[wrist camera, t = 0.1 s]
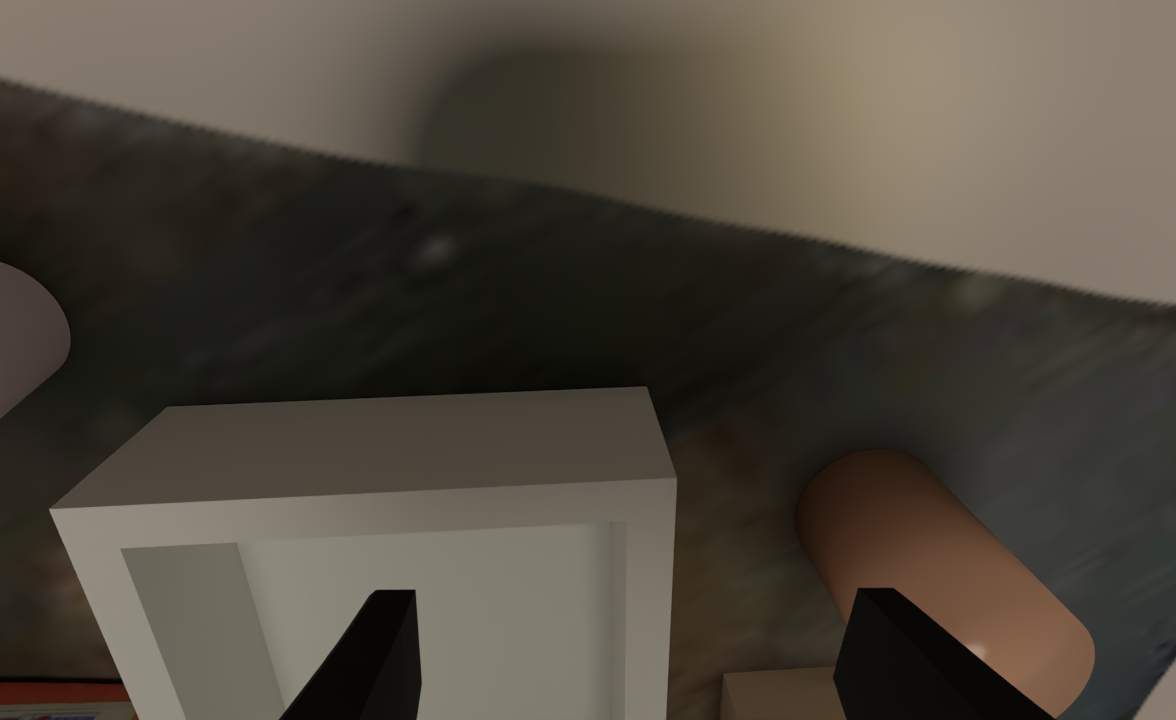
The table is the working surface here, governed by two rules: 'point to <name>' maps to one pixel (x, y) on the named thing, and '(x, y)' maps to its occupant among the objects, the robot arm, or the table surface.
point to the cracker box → (65, 701)
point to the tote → (387, 551)
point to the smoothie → (28, 336)
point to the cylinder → (941, 570)
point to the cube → (781, 695)
